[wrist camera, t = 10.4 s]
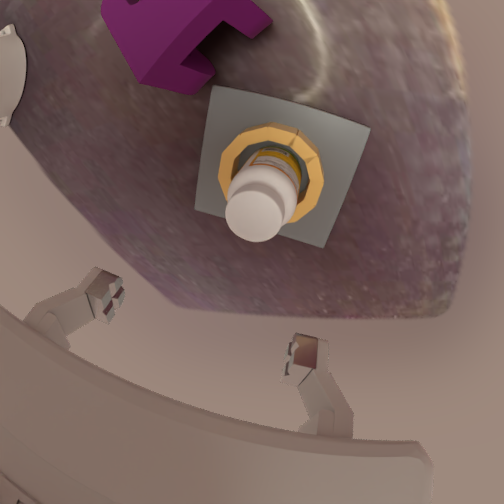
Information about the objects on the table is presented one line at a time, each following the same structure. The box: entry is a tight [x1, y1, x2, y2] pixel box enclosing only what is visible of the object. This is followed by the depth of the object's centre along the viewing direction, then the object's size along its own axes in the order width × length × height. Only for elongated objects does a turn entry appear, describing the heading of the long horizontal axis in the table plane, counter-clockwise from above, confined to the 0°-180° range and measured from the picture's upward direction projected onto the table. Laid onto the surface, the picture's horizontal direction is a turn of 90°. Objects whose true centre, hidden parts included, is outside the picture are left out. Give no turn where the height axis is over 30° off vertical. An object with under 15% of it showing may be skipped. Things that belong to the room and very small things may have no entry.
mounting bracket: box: [101, 0, 273, 95], centre depth 18 cm, size 10×8×18 cm
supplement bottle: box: [225, 145, 302, 242], centre depth 23 cm, size 5×5×10 cm
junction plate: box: [194, 85, 371, 248], centre depth 26 cm, size 15×14×4 cm
